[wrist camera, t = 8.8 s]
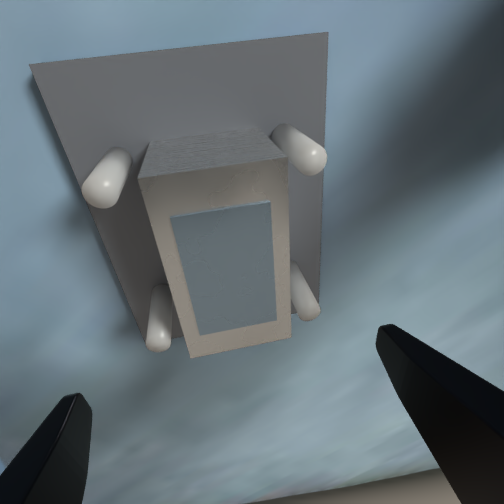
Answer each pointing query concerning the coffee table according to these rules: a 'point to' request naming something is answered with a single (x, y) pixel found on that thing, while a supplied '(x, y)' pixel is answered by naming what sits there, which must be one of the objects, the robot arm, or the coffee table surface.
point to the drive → (222, 236)
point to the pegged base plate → (182, 125)
